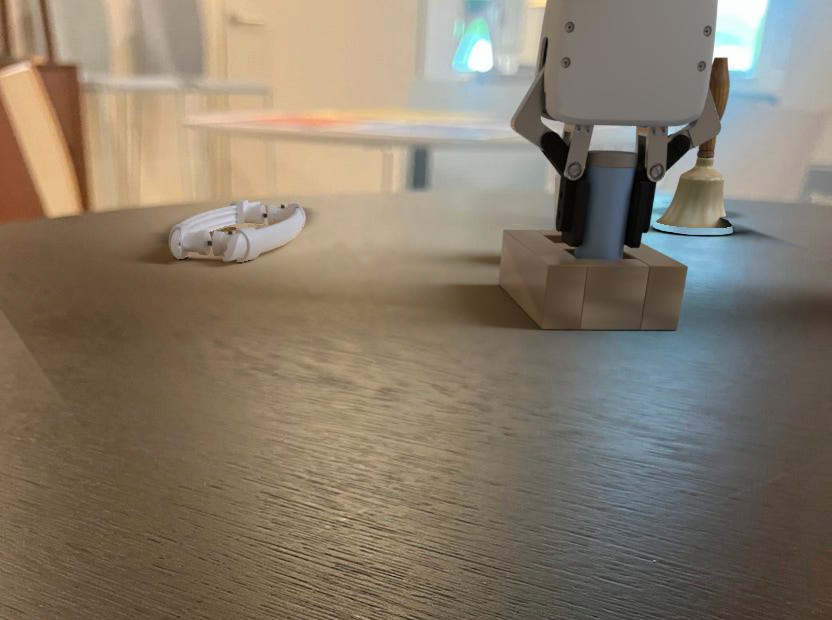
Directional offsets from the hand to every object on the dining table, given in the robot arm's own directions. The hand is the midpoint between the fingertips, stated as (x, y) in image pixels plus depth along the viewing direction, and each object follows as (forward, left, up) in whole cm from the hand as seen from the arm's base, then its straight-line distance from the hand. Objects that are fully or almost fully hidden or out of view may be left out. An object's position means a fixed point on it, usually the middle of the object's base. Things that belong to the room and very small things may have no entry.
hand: (599, 241), depth 68 cm
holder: (0, -3, -5) cm, 6 cm away
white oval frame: (+25, -30, -5) cm, 40 cm away
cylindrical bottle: (0, 0, -4) cm, 4 cm away
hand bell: (-22, -42, -5) cm, 48 cm away
